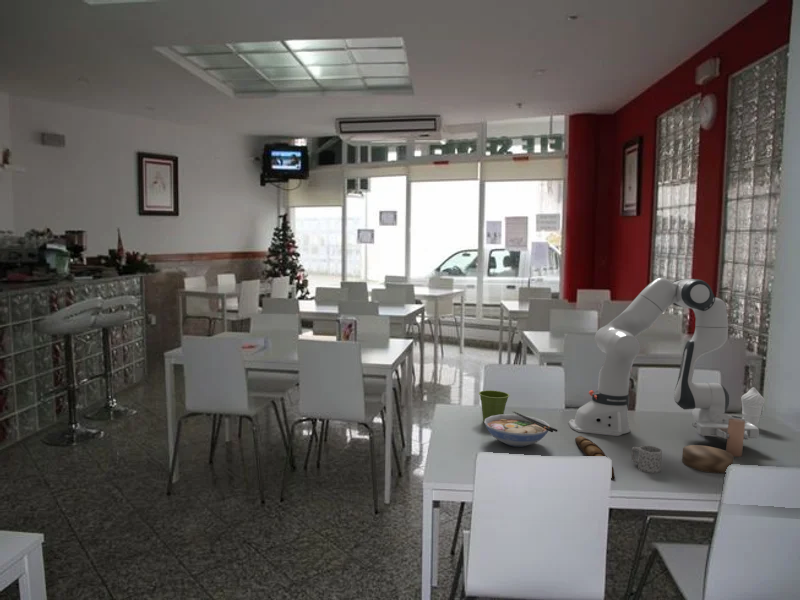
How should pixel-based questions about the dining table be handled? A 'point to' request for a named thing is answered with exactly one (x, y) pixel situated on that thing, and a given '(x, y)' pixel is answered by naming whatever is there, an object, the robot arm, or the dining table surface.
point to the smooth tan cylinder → (735, 437)
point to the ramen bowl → (517, 429)
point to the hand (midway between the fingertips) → (736, 436)
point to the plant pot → (493, 402)
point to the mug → (648, 458)
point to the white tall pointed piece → (752, 406)
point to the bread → (590, 449)
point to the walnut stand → (706, 458)
